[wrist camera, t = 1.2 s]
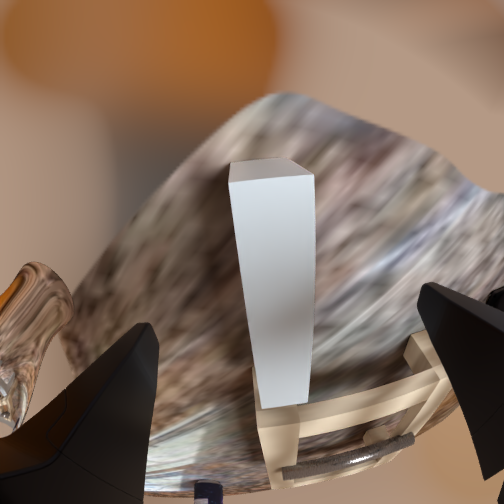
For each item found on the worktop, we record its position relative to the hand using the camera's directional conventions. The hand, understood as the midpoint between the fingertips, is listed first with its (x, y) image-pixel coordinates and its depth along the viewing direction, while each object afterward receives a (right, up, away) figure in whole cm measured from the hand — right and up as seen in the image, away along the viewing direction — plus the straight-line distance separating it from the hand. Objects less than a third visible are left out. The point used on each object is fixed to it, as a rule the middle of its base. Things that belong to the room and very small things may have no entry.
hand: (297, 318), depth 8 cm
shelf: (+9, -17, +19) cm, 27 cm away
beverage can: (-10, -45, +31) cm, 55 cm away
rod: (+9, -20, +14) cm, 26 cm away
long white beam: (0, +1, +9) cm, 9 cm away
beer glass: (-18, -1, +9) cm, 20 cm away
